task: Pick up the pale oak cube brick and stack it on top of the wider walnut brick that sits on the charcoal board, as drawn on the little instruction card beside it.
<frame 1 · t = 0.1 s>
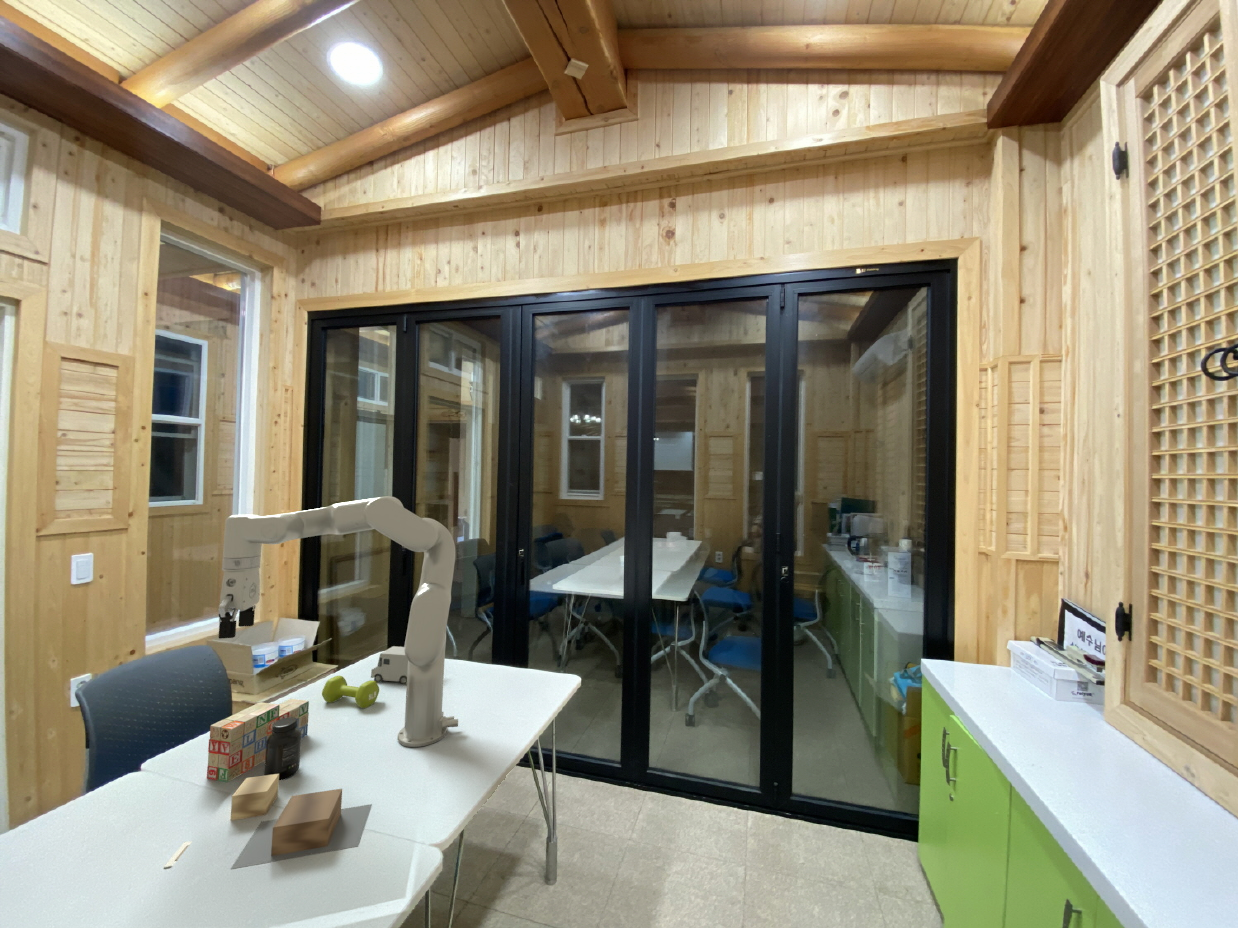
hand: (236, 631, 116), 31 cm above the table, fingers open, 9 cm apart
supplement bottle: (281, 774, 110), on the table
toy vehicle: (400, 679, 164), on the table
stack of blocks: (260, 756, 117), on the table
board: (307, 839, 89), on the table
oak brick: (254, 813, 96), on the table
dumbbell: (350, 703, 146), on the table
brick: (308, 833, 90), point 1 cm above the table, touching board
instruction card: (200, 850, 86), on the table
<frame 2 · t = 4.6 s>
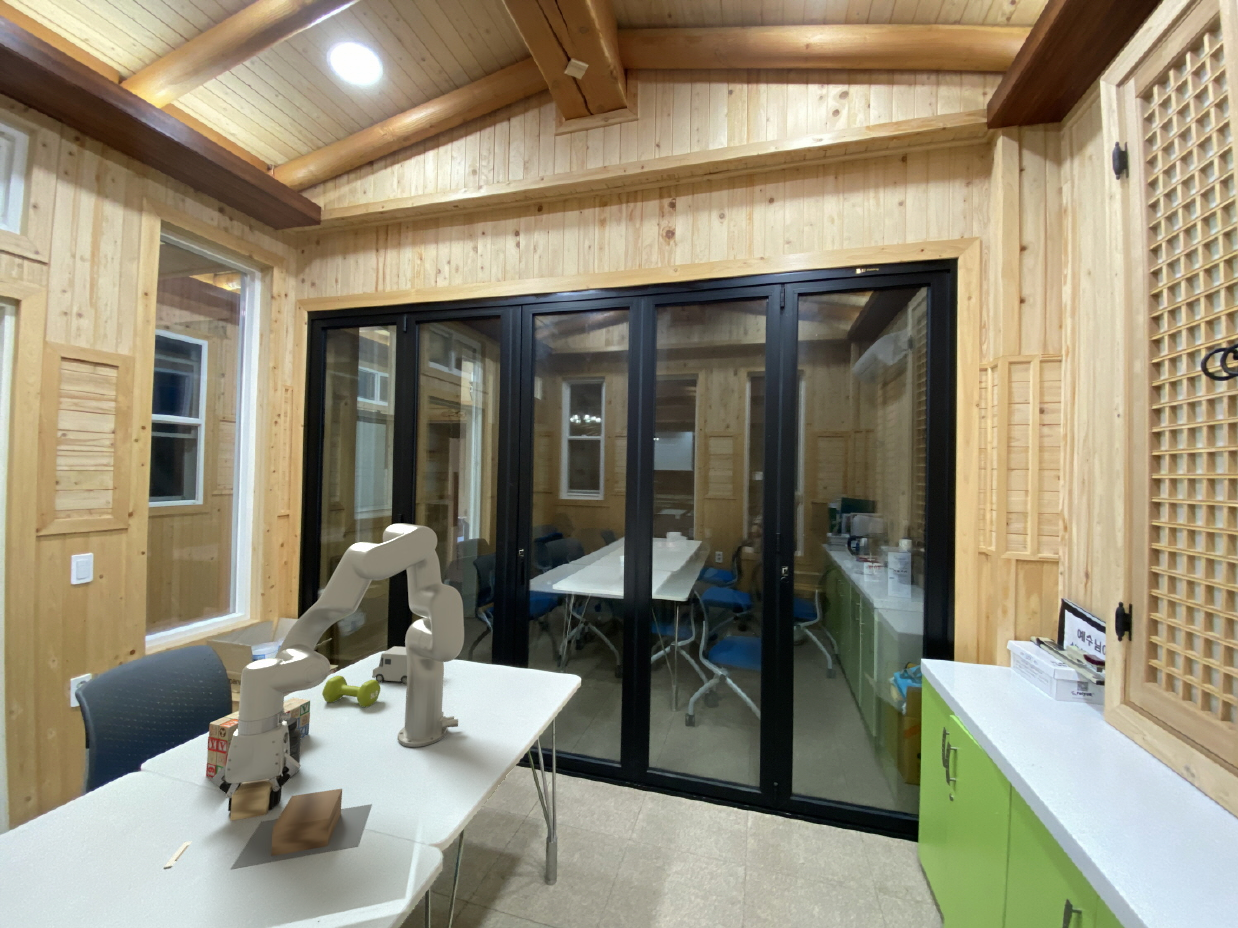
hand: (254, 809, 96), 1 cm above the table, fingers closed on oak brick, 6 cm apart
oak brick: (254, 813, 96), on the table, touching gripper
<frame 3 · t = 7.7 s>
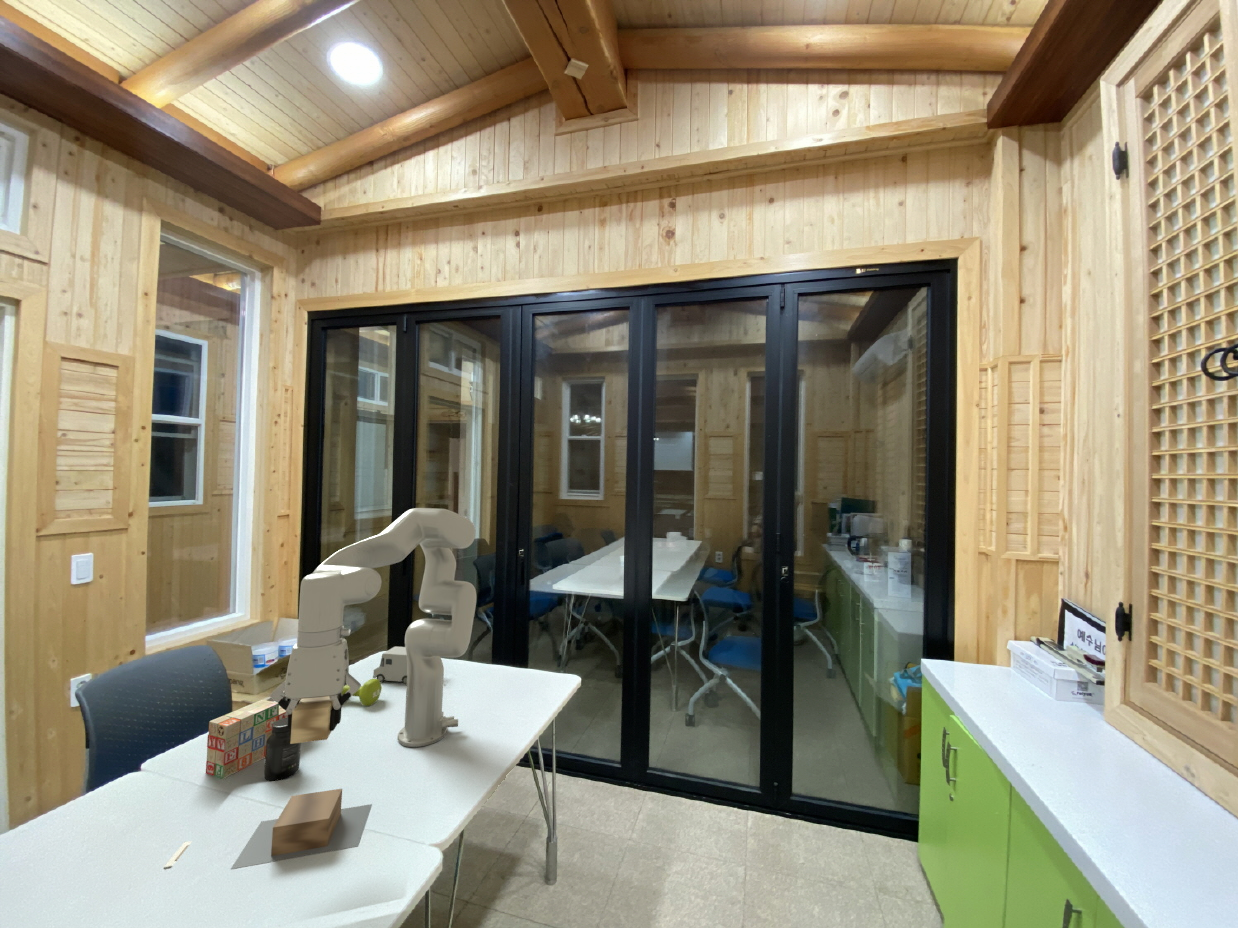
hand: (314, 728, 91), 21 cm above the table, fingers closed on oak brick, 6 cm apart
oak brick: (314, 733, 91), point 20 cm above the table, touching gripper
when the fingers open (8 cm above the table, at t = 10.8 s): oak brick stays where it is, resting on brick.
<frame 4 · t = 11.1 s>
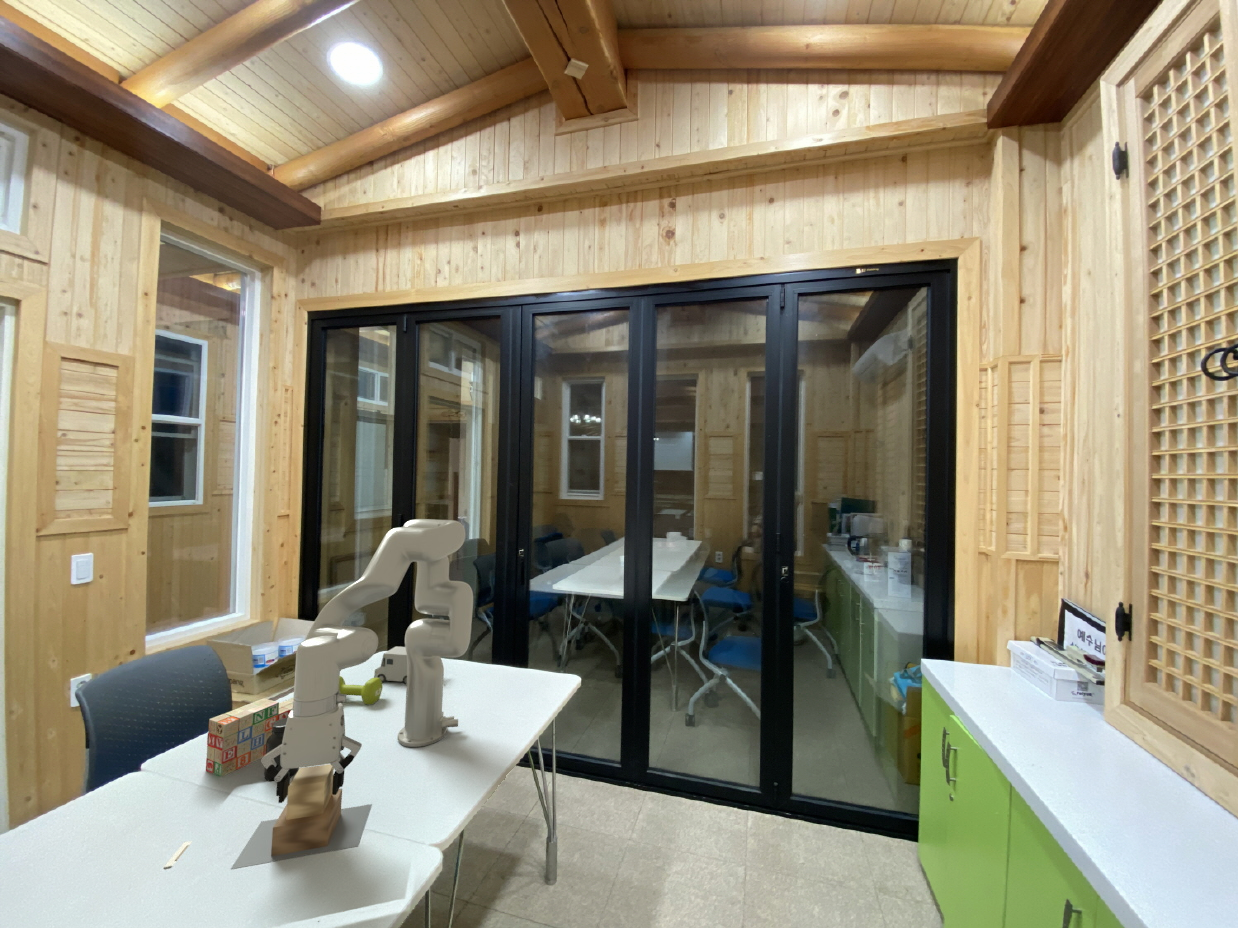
hand: (310, 793, 90), 9 cm above the table, fingers open, 8 cm apart
oak brick: (310, 806, 90), point 6 cm above the table, touching brick
brick: (308, 833, 90), point 1 cm above the table, touching board, oak brick
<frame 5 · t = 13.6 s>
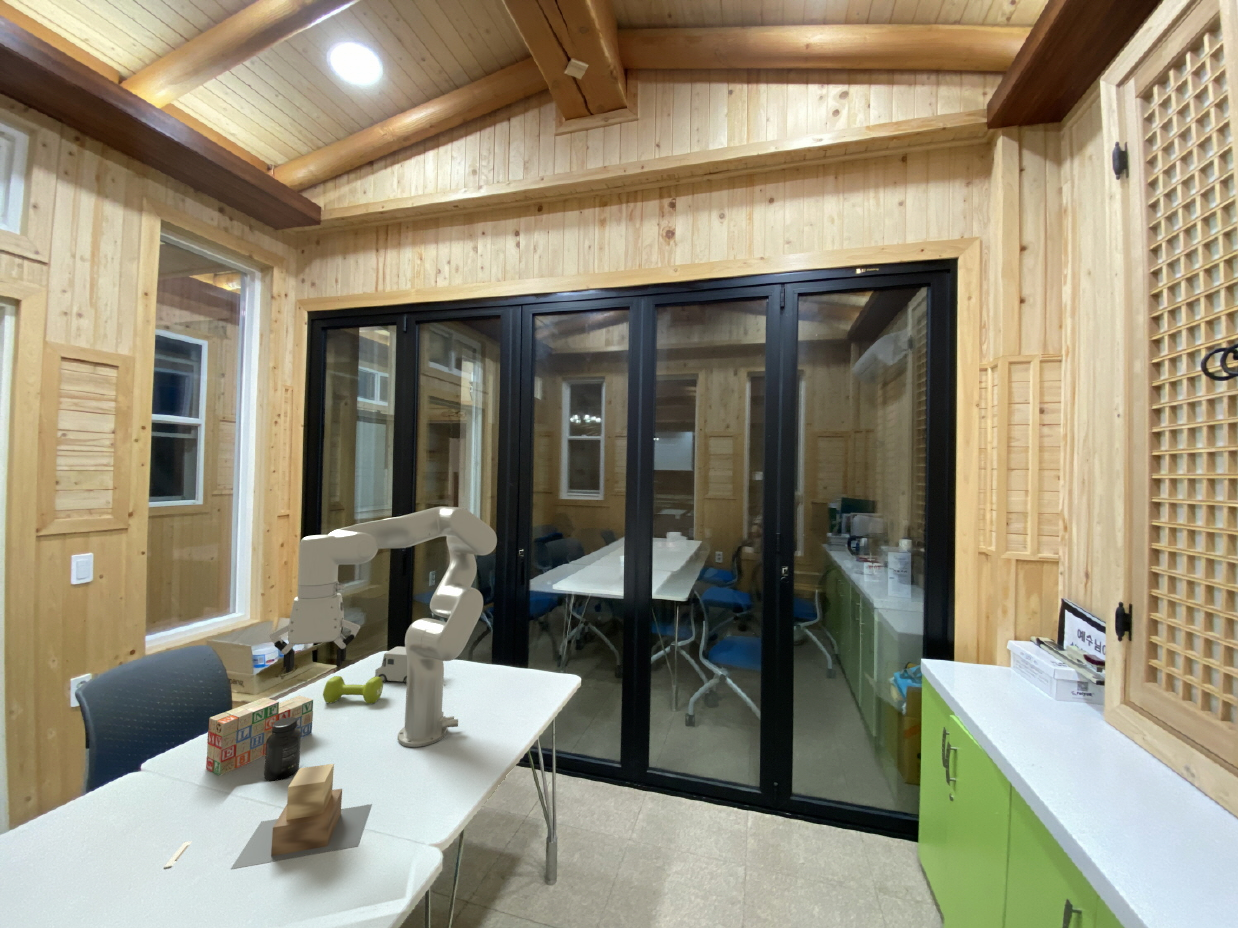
hand: (315, 667, 103), 28 cm above the table, fingers open, 9 cm apart
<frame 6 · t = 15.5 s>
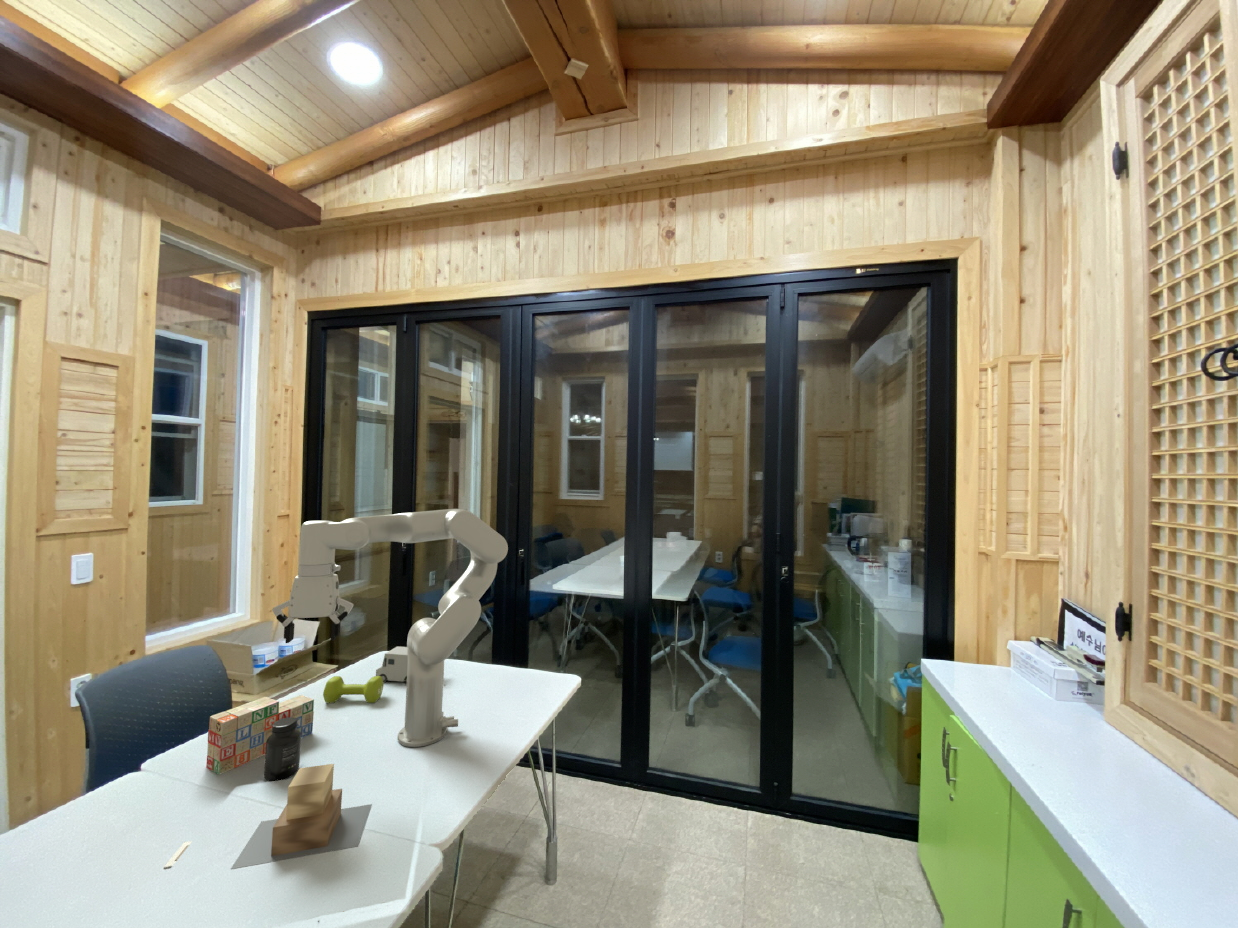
hand: (312, 639, 114), 30 cm above the table, fingers open, 9 cm apart
at the end: oak brick 0.0 cm off-centre on the brick, point 5.0 cm above the brick's base; oak brick tilted 0°; the gripper is holding nothing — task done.
